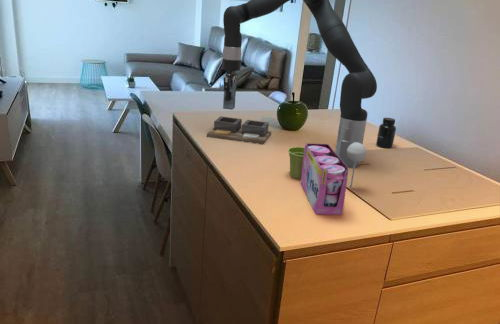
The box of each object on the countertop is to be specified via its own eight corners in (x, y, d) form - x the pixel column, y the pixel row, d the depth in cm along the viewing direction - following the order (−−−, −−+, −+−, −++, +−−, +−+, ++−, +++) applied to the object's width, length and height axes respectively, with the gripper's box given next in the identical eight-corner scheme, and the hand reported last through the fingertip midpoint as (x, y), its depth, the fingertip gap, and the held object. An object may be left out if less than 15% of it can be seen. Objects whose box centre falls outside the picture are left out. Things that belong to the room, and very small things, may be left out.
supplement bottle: (374, 146, 188) (379, 118, 184) (377, 142, 194) (382, 115, 190) (390, 149, 186) (396, 121, 182) (393, 145, 191) (399, 118, 187)
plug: (232, 109, 186) (233, 83, 183) (223, 108, 187) (224, 82, 184) (234, 107, 190) (236, 81, 186) (225, 106, 191) (227, 80, 187)
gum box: (344, 217, 122) (351, 171, 117) (316, 217, 121) (322, 170, 117) (323, 184, 144) (329, 143, 140) (299, 183, 144) (304, 142, 139)
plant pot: (315, 173, 153) (318, 149, 150) (311, 183, 144) (314, 157, 141) (288, 169, 155) (290, 145, 152) (282, 178, 146) (285, 153, 143)
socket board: (263, 144, 180) (265, 131, 178) (206, 136, 184) (207, 123, 182) (271, 134, 194) (272, 122, 192) (218, 127, 199) (218, 115, 197)
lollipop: (347, 182, 146) (353, 139, 141) (363, 188, 143) (371, 143, 138) (337, 187, 142) (344, 142, 137) (354, 193, 138) (362, 147, 133)
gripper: (236, 60, 174) (233, 104, 180) (245, 57, 188) (242, 97, 193) (217, 58, 176) (215, 101, 182) (227, 55, 189) (225, 95, 195)
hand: (229, 99), depth 187 cm, fingers closed on plug, 4 cm apart
